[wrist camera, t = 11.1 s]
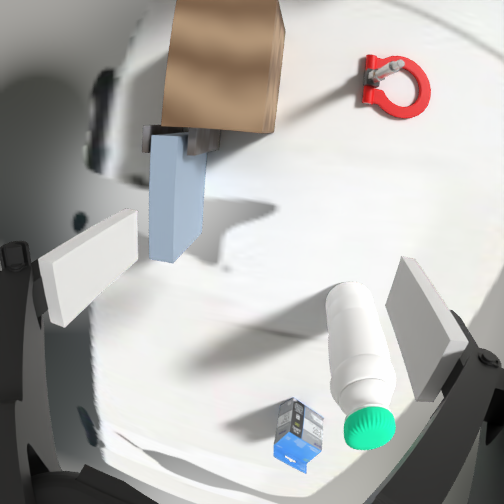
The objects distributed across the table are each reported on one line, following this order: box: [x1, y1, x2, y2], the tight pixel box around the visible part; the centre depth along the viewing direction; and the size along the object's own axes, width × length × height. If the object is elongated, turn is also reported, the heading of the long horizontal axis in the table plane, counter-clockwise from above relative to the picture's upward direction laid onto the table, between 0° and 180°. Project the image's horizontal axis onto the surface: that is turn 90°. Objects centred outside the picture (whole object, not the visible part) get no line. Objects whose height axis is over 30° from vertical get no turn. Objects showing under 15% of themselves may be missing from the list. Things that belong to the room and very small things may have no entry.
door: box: [149, 132, 207, 263], centre depth 38 cm, size 14×3×11 cm, turn 174°
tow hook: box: [362, 55, 431, 118], centre depth 28 cm, size 8×13×9 cm
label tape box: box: [273, 398, 324, 474], centre depth 51 cm, size 9×4×12 cm, turn 48°
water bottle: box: [325, 282, 396, 450], centre depth 35 cm, size 7×7×25 cm
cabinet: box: [142, 0, 285, 156], centre depth 32 cm, size 17×13×12 cm
